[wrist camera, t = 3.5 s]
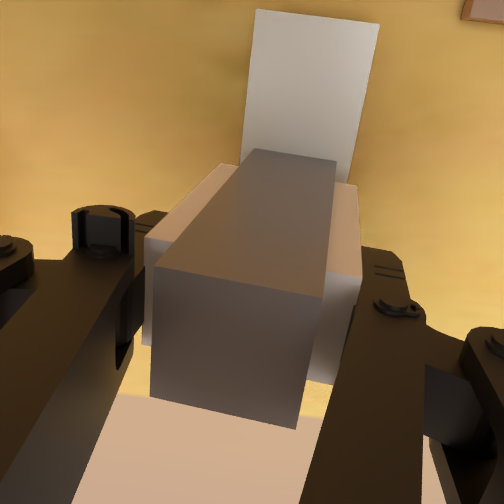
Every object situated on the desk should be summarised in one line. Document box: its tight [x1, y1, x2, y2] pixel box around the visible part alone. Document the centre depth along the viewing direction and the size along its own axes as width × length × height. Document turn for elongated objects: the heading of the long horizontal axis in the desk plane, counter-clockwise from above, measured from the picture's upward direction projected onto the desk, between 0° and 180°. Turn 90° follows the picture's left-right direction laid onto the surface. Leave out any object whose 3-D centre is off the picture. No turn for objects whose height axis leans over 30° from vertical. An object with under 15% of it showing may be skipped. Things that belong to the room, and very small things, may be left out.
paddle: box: [150, 9, 380, 429], centre depth 15 cm, size 12×4×13 cm, turn 173°
